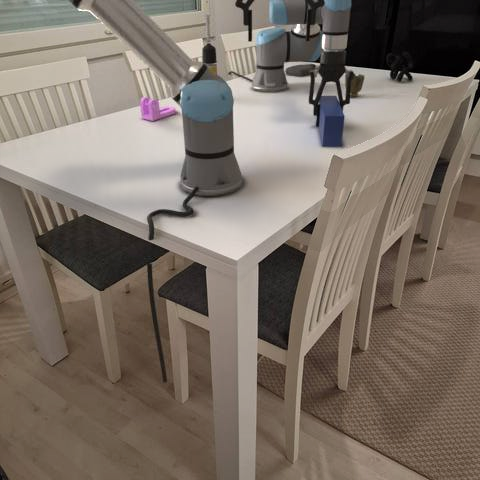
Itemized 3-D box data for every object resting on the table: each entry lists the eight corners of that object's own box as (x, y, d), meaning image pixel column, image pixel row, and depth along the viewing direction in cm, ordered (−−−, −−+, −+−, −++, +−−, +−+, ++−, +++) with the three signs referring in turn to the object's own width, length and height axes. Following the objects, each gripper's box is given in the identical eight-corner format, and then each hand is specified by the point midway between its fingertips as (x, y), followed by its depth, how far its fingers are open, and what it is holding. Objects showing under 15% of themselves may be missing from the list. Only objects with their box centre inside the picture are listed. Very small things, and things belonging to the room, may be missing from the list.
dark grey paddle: (283, 74, 214) (310, 66, 231) (302, 77, 208) (328, 69, 225) (283, 67, 213) (310, 60, 229) (302, 70, 207) (329, 62, 223)
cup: (340, 97, 177) (342, 76, 172) (346, 93, 182) (348, 72, 178) (359, 99, 174) (362, 78, 169) (364, 95, 179) (366, 74, 175)
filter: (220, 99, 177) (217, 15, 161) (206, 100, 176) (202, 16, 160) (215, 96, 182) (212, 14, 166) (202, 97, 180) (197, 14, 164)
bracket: (152, 121, 154) (150, 100, 151) (141, 118, 157) (139, 98, 154) (178, 112, 163) (177, 92, 159) (167, 109, 166) (165, 90, 162)
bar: (341, 146, 131) (344, 116, 126) (322, 146, 131) (325, 115, 126) (333, 122, 150) (336, 95, 145) (317, 122, 150) (319, 95, 145)
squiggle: (400, 92, 202) (376, 71, 205) (417, 76, 202) (392, 56, 205) (405, 81, 191) (380, 59, 194) (423, 64, 191) (397, 42, 194)
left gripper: (339, -69, 97) (330, 37, 108) (225, -66, 99) (228, 38, 110) (343, -71, 91) (333, 42, 102) (221, -68, 93) (224, 43, 104)
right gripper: (362, 47, 136) (353, 122, 149) (302, 47, 138) (298, 121, 150) (366, 51, 130) (357, 129, 142) (302, 51, 131) (298, 128, 144)
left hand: (278, 40), depth 106 cm, fingers open, 13 cm apart
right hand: (326, 125), depth 146 cm, fingers closed on bar, 5 cm apart
